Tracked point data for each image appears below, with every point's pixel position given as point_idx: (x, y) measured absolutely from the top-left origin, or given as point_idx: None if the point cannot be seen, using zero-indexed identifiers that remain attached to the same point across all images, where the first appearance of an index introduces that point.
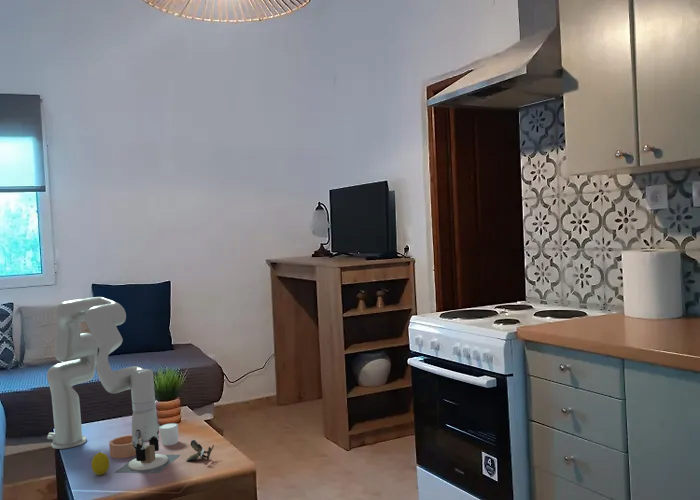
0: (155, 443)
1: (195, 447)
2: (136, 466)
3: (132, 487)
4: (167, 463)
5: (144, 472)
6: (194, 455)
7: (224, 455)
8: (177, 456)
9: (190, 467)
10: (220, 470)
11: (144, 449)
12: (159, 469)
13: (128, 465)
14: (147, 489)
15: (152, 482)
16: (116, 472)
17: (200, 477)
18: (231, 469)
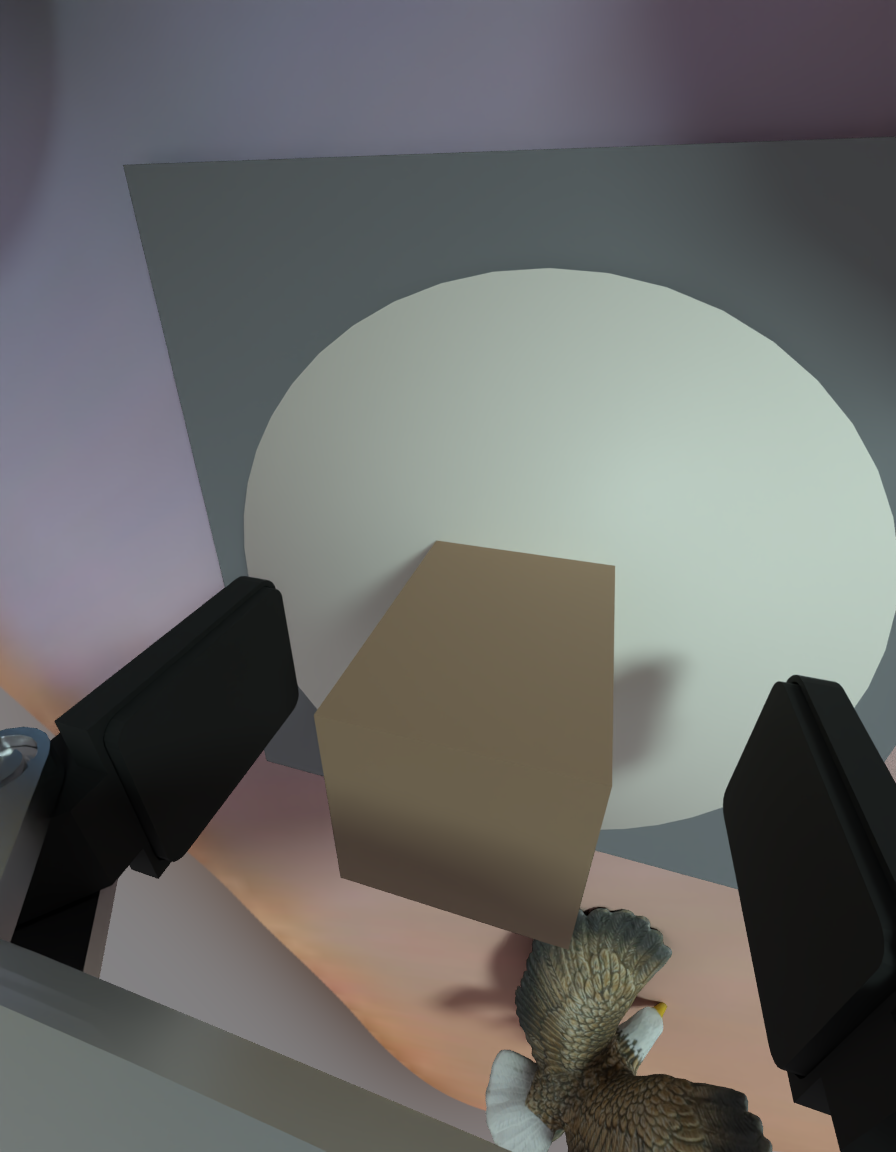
0: (773, 947)
1: (611, 1138)
2: (302, 520)
3: (8, 610)
4: None
5: None
6: (551, 1032)
7: None
8: (730, 878)
9: (442, 924)
10: (400, 1023)
11: (143, 866)
12: None
13: (338, 339)
14: (43, 718)
15: None
16: (135, 213)
17: (290, 946)
18: (417, 1055)
